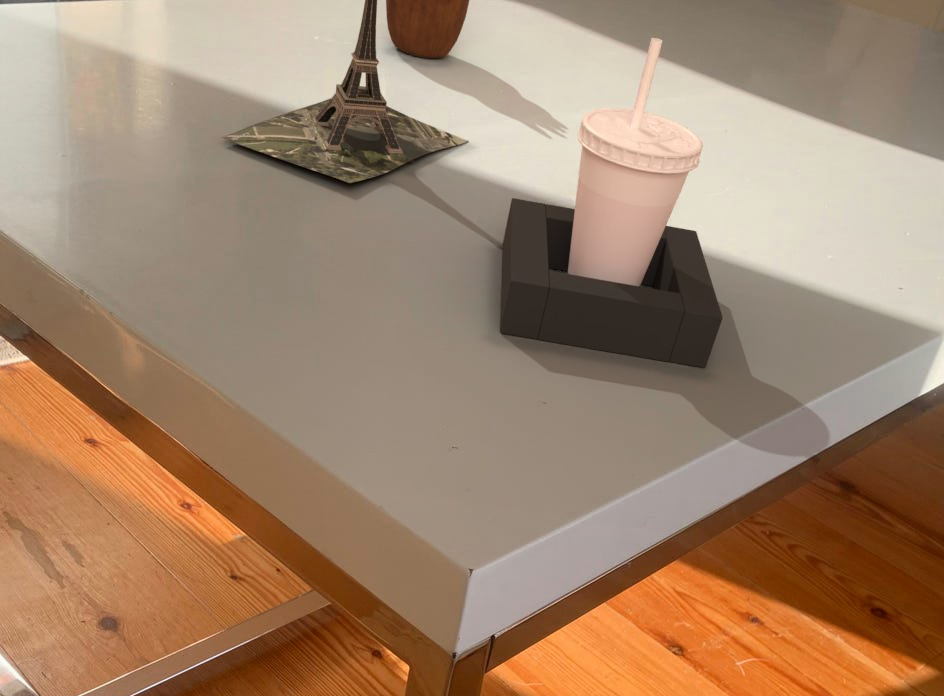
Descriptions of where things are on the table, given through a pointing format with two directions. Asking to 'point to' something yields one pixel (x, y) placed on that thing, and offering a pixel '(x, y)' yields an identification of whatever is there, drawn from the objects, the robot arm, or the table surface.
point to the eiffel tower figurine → (348, 124)
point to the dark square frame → (605, 293)
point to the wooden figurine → (425, 25)
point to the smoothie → (627, 185)
